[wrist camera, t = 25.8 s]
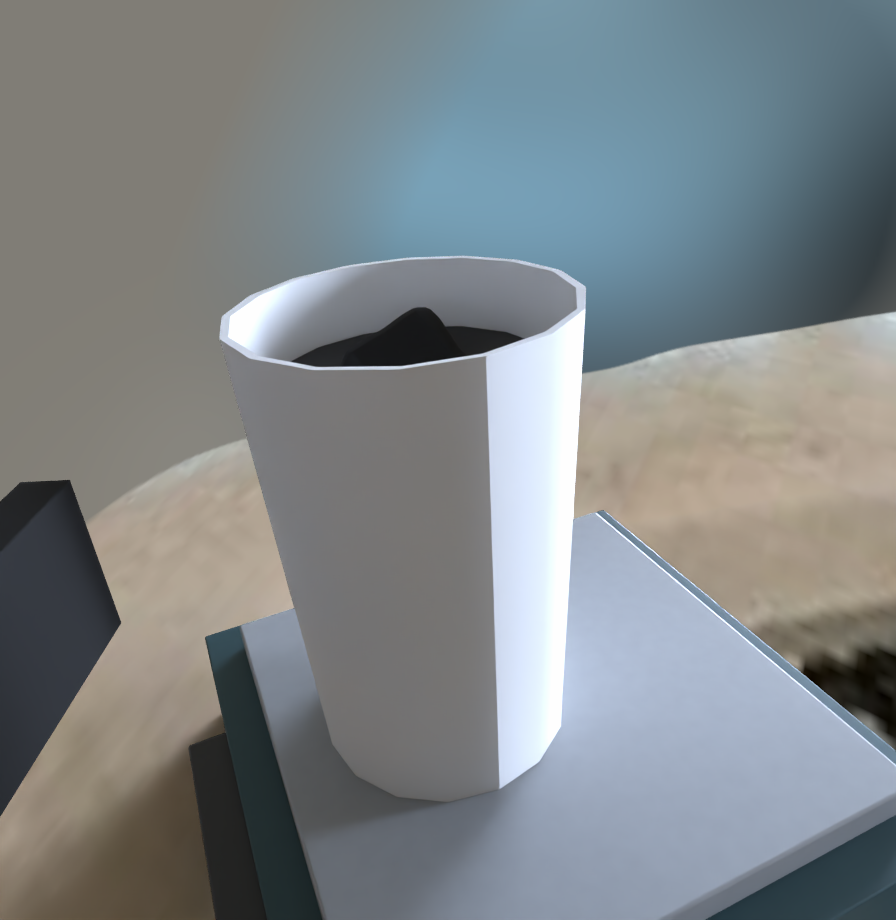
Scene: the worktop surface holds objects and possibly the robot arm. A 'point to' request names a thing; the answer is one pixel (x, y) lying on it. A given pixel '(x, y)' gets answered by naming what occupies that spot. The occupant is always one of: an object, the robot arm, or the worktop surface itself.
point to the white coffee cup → (422, 503)
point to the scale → (565, 781)
